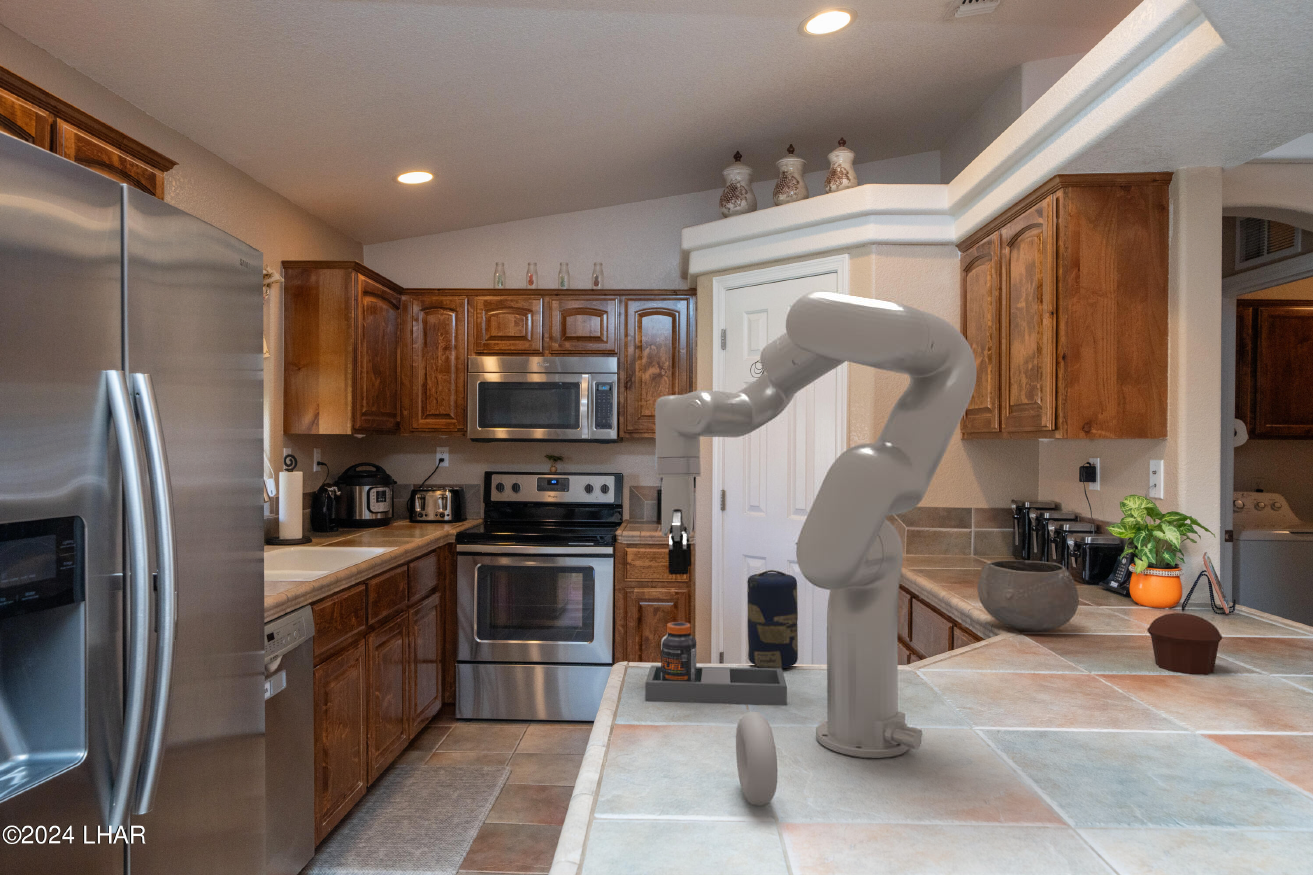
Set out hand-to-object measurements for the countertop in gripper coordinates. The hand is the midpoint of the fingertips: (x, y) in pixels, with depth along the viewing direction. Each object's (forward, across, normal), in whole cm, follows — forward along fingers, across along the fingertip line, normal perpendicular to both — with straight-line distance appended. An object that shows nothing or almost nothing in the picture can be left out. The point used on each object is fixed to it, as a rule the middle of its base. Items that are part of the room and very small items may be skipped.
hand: (680, 570), depth 128 cm
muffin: (+22, -24, +93) cm, 99 cm away
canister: (+21, -19, +16) cm, 32 cm away
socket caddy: (+21, -1, +6) cm, 21 cm away
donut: (+22, +39, +10) cm, 46 cm away
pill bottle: (+20, 0, -1) cm, 21 cm away
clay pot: (+22, -56, +77) cm, 97 cm away
